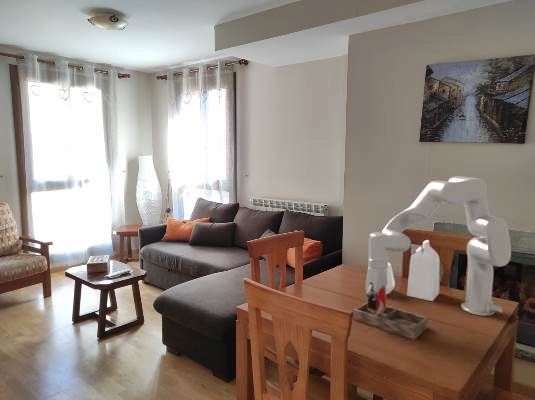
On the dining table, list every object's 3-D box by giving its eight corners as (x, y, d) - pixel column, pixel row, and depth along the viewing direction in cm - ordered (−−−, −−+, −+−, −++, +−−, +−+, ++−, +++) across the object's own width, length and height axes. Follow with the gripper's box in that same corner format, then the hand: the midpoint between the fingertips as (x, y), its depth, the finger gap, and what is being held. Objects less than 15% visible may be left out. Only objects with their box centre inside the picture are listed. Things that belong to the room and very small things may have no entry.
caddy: (427, 327, 147) (428, 317, 147) (414, 339, 138) (414, 329, 137) (368, 309, 164) (369, 300, 164) (353, 318, 155) (353, 309, 154)
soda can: (386, 317, 151) (387, 288, 149) (367, 316, 152) (368, 287, 150) (384, 310, 157) (385, 282, 156) (366, 309, 159) (367, 281, 157)
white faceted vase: (390, 298, 176) (392, 269, 175) (362, 292, 183) (363, 264, 182) (397, 289, 188) (398, 262, 186) (370, 284, 195) (371, 258, 193)
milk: (432, 301, 173) (435, 245, 170) (406, 295, 180) (409, 241, 177) (439, 293, 183) (442, 240, 179) (414, 288, 189) (417, 237, 186)
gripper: (379, 257, 161) (378, 297, 163) (358, 266, 148) (357, 309, 151) (396, 260, 156) (394, 302, 158) (376, 270, 143) (374, 315, 145)
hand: (376, 305), depth 154 cm, fingers closed on soda can, 7 cm apart
